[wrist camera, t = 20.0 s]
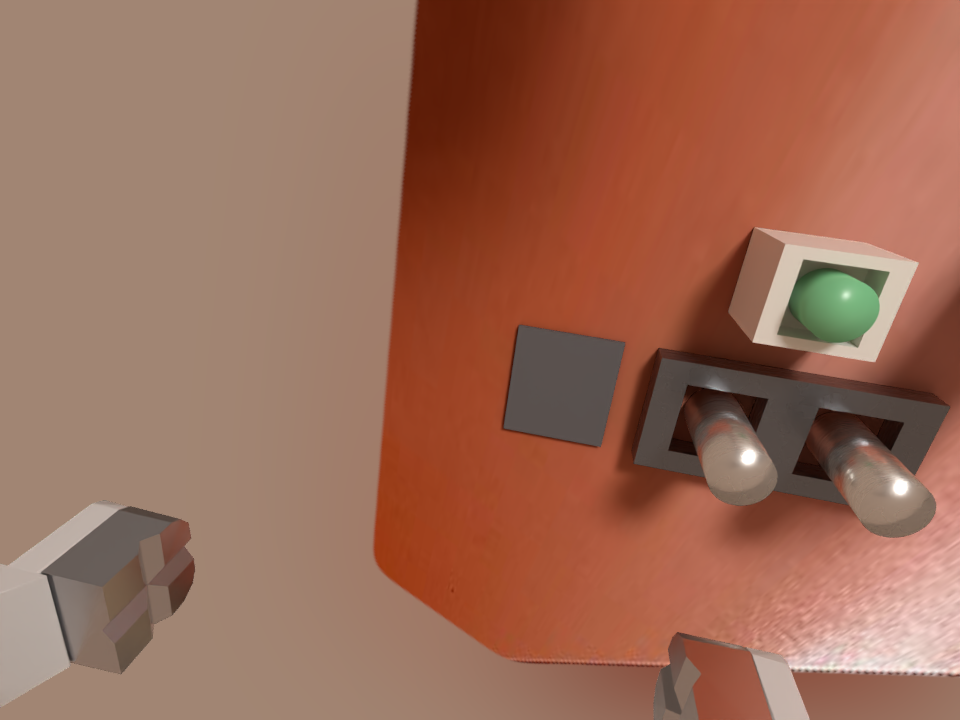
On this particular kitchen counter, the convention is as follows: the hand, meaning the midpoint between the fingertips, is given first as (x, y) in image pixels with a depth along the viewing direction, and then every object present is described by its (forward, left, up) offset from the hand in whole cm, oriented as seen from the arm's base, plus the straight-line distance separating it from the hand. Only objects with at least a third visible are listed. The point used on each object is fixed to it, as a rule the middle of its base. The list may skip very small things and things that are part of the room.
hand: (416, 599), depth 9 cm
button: (0, +17, -28) cm, 33 cm away
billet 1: (+11, +14, -33) cm, 38 cm away
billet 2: (+11, +23, -33) cm, 42 cm away
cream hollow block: (0, +17, -33) cm, 37 cm away
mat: (+11, +3, -33) cm, 35 cm away
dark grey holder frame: (+11, +19, -33) cm, 40 cm away
